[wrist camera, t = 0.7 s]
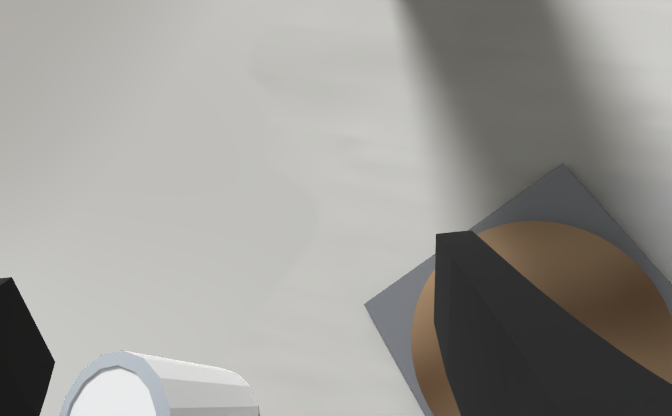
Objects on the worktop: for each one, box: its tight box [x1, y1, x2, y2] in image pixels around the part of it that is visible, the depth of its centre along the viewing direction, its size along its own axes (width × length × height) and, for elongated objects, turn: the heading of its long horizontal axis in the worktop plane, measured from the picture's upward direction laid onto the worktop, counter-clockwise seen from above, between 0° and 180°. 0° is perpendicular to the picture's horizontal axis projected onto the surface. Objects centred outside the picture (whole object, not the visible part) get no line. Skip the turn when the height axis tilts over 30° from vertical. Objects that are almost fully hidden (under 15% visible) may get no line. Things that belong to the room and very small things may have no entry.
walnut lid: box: [411, 221, 672, 416], centre depth 21 cm, size 10×10×3 cm
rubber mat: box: [364, 164, 672, 416], centre depth 22 cm, size 11×11×1 cm
